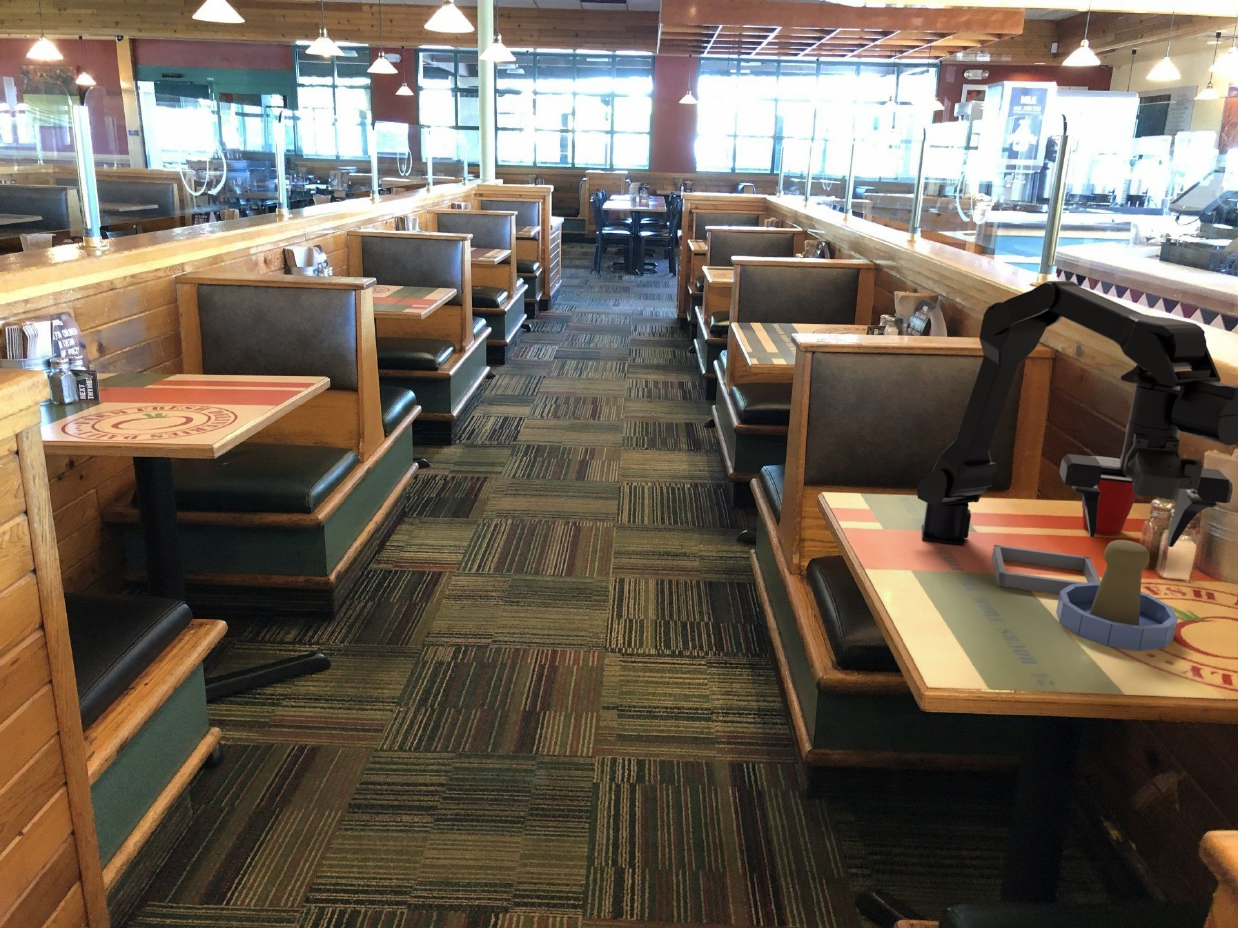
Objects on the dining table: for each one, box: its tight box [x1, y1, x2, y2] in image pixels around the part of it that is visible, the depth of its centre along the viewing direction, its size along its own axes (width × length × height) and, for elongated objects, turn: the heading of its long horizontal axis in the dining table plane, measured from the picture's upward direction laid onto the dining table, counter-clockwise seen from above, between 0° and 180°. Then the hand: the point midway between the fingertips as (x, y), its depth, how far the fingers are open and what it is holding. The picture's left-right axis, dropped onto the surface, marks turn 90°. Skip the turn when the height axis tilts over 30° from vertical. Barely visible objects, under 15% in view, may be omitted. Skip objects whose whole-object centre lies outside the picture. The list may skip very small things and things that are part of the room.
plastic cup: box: [1081, 455, 1138, 536], centre depth 163 cm, size 11×11×12 cm
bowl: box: [1055, 582, 1179, 652], centre depth 129 cm, size 14×14×3 cm
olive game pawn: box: [1089, 539, 1151, 626], centre depth 128 cm, size 6×6×11 cm
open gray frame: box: [991, 544, 1101, 595], centre depth 144 cm, size 14×12×2 cm
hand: (1130, 541), depth 126 cm, fingers open, 9 cm apart
